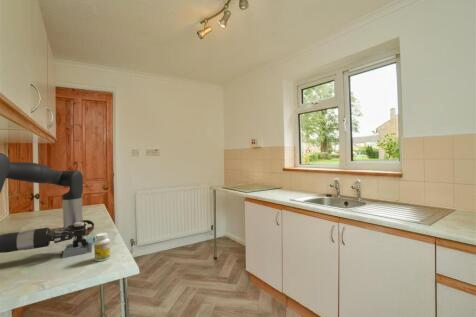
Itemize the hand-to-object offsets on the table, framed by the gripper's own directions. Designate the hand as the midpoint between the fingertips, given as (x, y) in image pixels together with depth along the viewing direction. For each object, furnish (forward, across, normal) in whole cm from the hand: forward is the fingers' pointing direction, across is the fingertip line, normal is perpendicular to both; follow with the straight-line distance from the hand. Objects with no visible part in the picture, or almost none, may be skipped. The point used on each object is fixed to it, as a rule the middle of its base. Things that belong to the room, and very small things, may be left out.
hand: (85, 231), depth 104 cm
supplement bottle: (+6, -15, +8) cm, 18 cm away
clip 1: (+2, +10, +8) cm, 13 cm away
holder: (-3, 0, +8) cm, 9 cm away
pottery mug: (-3, +27, +8) cm, 29 cm away
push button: (-3, 0, +6) cm, 7 cm away
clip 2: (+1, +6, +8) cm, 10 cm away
